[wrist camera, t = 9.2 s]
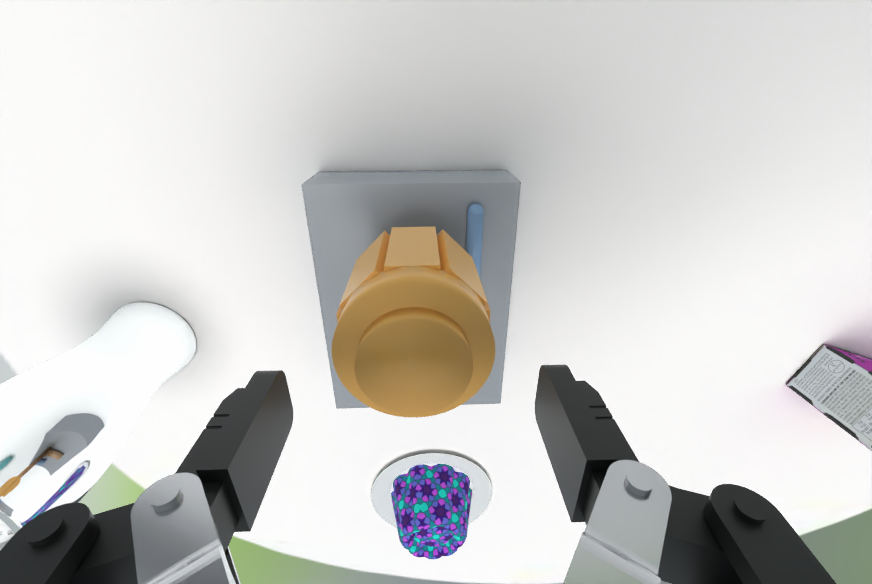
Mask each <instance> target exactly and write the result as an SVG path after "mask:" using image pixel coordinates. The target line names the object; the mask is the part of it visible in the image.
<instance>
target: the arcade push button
mask: <svg viewBox="0 0 872 584" xmlns="http://www.w3.org/2000/svg"><path fill="white" fill-rule="evenodd" d="M490 311H491V310H490V307H489V304H488V301H487V298H486V295H485V292H484V290H483V287H482V284H481V281H480V278H479V275H478V272H477V269H476V266H475V264H474V261H473V258H472V257H471V256H470V255H469V254H468V253H467V252H466V251H465V250H464V249H463V248H462V247H461V246H460V245H459V244H458V243H457V242H456V241H455V240H454V239H452V238H451V237H450V236H449V235H448V234H447V233H446V232H445V231H444V230H442V231H441V232H440V233H439V234H438V235H436V227H392V229H391V234H390V235H389V234H388V233H387V232H386V231H385V230H384V232H383V233H382V234H381V235H380V236H379V237H378V238H377V239H376V240H375V241H374V242H373V243H372V244H371V245H370V246H369V247H368V248H367V249H366V250H365V251H364V252H363V254H362V255H361V256H360V257H359V258H358V259H357V260H356V263H355V265H354V268H353V271H352V273H351V276H350V279H349V281H348V284H347V286H346V289H345V292H344V294H343V297H342V300H341V302H340V305H339V308H338V311H337V314H336V316H337V323H338V324H337V327H336V329H335V332H334V336H333V340H332V360H333V364H334V368H335V370H336V373H337V375H338V377H339V379H340V380H341V382H342V384H343V385H344V386H345V387H346V389H347V390H348V391H349V392H350V393H351V394H352V395H353V396H354V397H355V398H357V399H358V400H359V401H361V402H362V403H364V404H365V405H367V406H369V407H371V408H373V409H375V410H378V411H380V412H383V413H386V414H390V415H395V416H402V417H426V416H432V415H437V414H440V413H444V412H446V411H449V410H451V409H454V408H456V407H458V406H459V405H461V404H463V403H464V402H466V401H467V400H469V399H470V398H471V397H472V396H474V395H475V394H476V393H477V392H478V391H479V390H480V388H481V387H482V386H483V385H484V383H485V382H486V380H487V379H488V377H489V375H490V373H491V371H492V367H493V364H494V360H495V340H494V335H493V332H492V329H491V325H490Z"/></svg>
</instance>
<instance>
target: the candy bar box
mask: <svg viewBox="0 0 872 584" xmlns="http://www.w3.org/2000/svg"><path fill="white" fill-rule="evenodd" d="M787 386H788V387H789V388H791V389H792V390H793V391H794V392H796V393H797V394H798V395H800V396H801V397H802V398H804V399H805V400H806V401H808V402H809V403H810V404H811V405H813V406H814V407H815V408H816V409H818V410H819V411H820V412H822V413H823V414H824V415H825V416H827V417H828V418H829V419H831V420H832V421H833V422H835V423H836V424H837V425H838V426H840V427H841V428H842V429H844V430H845V431H846V432H848V433H849V434H850V435H852V436H853V437H854V438H856V439H857V440H858V441H859V442H861V443H862V444H863V445H865V446H866V447H867V448H868V449H870V450H871V451H872V359H869V358H865V357H862V356H859V355H856V354H853V353H850V352H847V351H843V350H840V349H837V348H834V347H831V346H828V345H823V346H821V347H820V348H819V349H818V350H817V351H816V352H815V353H814V354H813V355H812V356H811V357H810V359H809V360H808V361H807V362H806V363H805V364H804V366H803V367H802V368H801V369H800V370H799V371H798V372H797V373H796V374H795V376H794V377H793V378H792V379H791V380H790V381H789V382H788V383H787Z"/></svg>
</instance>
